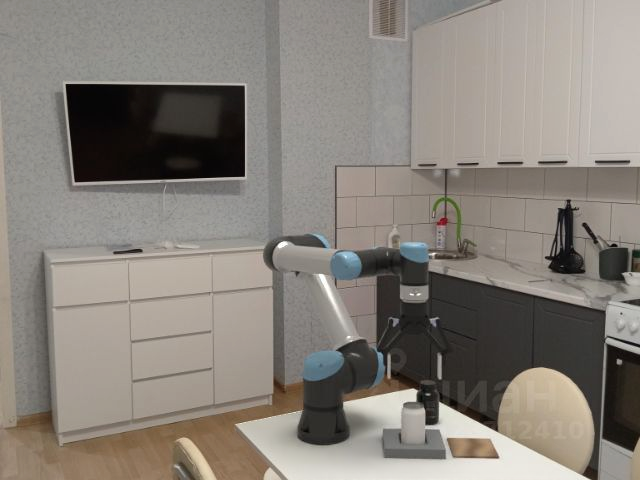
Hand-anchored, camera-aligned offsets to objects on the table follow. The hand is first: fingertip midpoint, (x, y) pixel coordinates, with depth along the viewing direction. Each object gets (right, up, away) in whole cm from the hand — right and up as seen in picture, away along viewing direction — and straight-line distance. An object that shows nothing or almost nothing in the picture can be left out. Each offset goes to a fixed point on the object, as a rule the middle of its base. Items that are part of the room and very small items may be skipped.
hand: (414, 377), depth 176 cm
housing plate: (0, -20, +2) cm, 20 cm away
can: (0, -20, +2) cm, 20 cm away
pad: (+16, -20, +1) cm, 25 cm away
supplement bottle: (+7, -18, +22) cm, 29 cm away
